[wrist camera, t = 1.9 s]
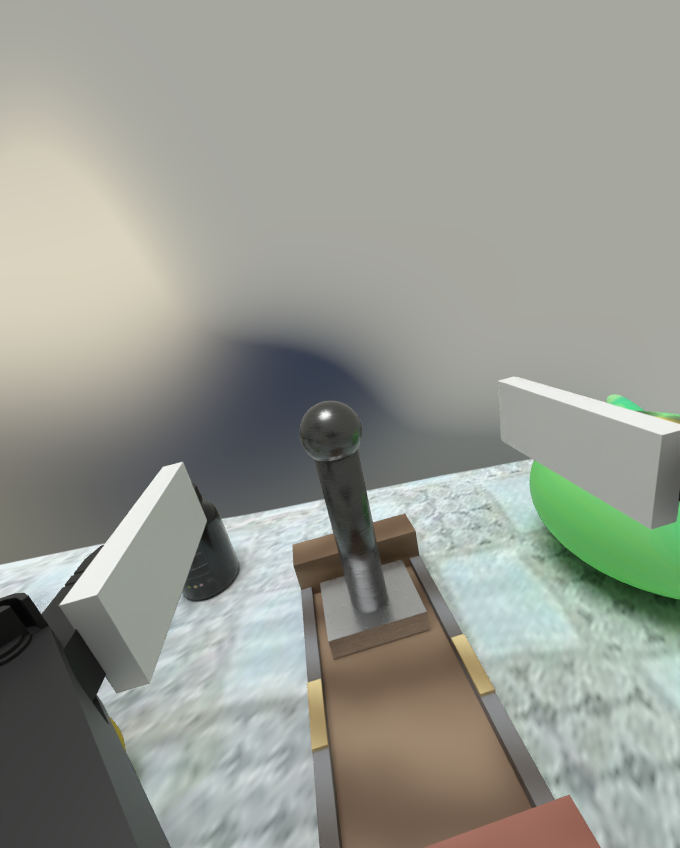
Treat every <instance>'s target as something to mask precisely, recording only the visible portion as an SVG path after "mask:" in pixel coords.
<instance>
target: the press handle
mask: <svg viewBox="0 0 680 848" xmlns="http://www.w3.org/2000/svg"><path fill="white" fill-rule="evenodd" d="M361 439H362V425H361V422H360V419H359V417H358V416H357V414H356V413H355V412H354V410H352V409H351V408H350V407H349V406H347V405H346V404H343V403H341V402H337V401H325V402H321V403H318V404H316V405H314V406H313V407H312V408H310V409H309V410H308V411H307V413H306V414H305V415H304V417H303V419H302V421H301V425H300V440H301V443H302V445H303V447H304V449H305V450H306V452H307V453H308V454H309V455H310V456H311V457H312V458H314V459H315V463H316V468H317V471H318V475H319V479H320V483H321V487H322V491H323V495H324V499H325V503H326V506H327V510H328V514H329V518H330V522H331V526H332V530H333V534H334V538H335V541H336V545H337V549H338V553H339V557H340V561H341V565H342V569H343V572H344V576H343V577H339V578H336V579H332V580H329V581H325V582H322V583H320V587H321V594H322V601H323V608H324V615H325V622H326V629H327V636H328V642H329V646H330V649H331V652H332V656H333V659H336V658H339V657H343V656H346V655H349V654H352V653H355V652H359V651H362V650H365V649H368V648H372V647H375V646H378V645H381V644H385V643H388V642H391V641H394V640H398V639H401V638H404V637H407V636H410V635H414V634H417V633H420V632H423V631H427V630H430V629H429V623H428V616H427V611H426V609H425V607H424V605H423V603H422V601H421V598H420V596H419V594H418V592H417V590H416V588H415V586H414V584H413V582H412V580H411V578H410V575H409V573H408V571H407V569H406V567H405V565H404V563H403V561H402V559H401V560H398V561H395V562H391V563H388V564H384V565H381V560H380V555H379V550H378V545H377V540H376V536H375V531H374V526H373V521H372V516H371V511H370V506H369V502H368V497H367V492H366V487H365V482H364V477H363V472H362V468H361V463H360V458H359V453H358V447H359V445H360V442H361Z"/></svg>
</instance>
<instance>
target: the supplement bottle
mask: <svg viewBox="0 0 680 848" xmlns="http://www.w3.org/2000/svg"><path fill="white" fill-rule="evenodd" d="M191 483H192V482H191ZM192 485H193V488H194V490H195V492H196V495H197V497H198V500H199V502H200V505H201V507H202V509H203V512H204V514H205V517H206V519H207V522H206V525H205V528H204V531H203V533H202V536H201V539H200V542H199V545H198V548H197V550H196V553H195V556H194V559H193V562H192V565H191V567H190V570H189V573H188V576H187V579H186V582H185V584H184V587H183V590H182V594H183V595H184V596H185V597H187V598H189V599H192V600H202V599H207V598H210V597H212V596H214V595H216V594H218V593H220V592H221V591H223V590H224V589H225V588H226V587H227V586H228V585H229V584H230V583H231V582H232V581H233V579H234V578H235V576H236V574H237V572H238V568H239V563H238V559H237V556H236V554H235V551H234V549H233V546H232V544H231V542H230V539H229V537H228V534H227V532H226V529H225V527H224V525H223V522H222V520H221V517H220V515H219V513H218V510H217V508H216V507H215V506H214V505H213V504H212V503H210V502H208V501H204V500H203V498H202V495H201V493H200V492H199V490H198V488H197V486H196V484H194V483H192Z"/></svg>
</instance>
